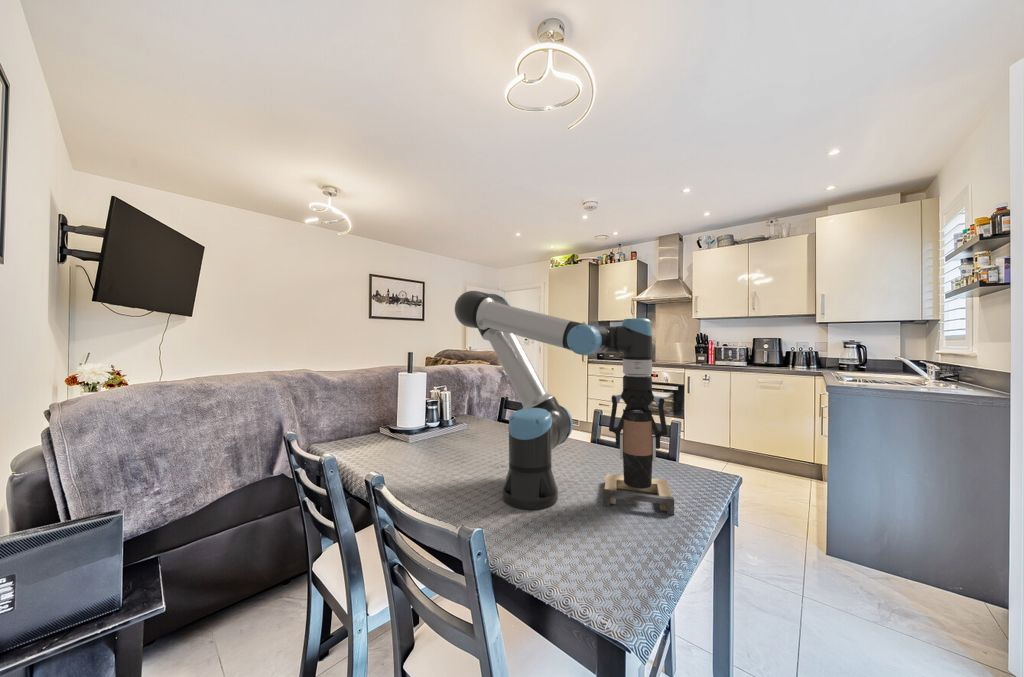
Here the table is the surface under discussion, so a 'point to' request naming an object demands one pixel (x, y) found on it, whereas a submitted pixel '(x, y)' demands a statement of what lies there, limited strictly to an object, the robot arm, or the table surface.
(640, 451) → the travel mug
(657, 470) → the table surface
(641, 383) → the robot arm
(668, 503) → the wooden arch frame
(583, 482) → the table surface
